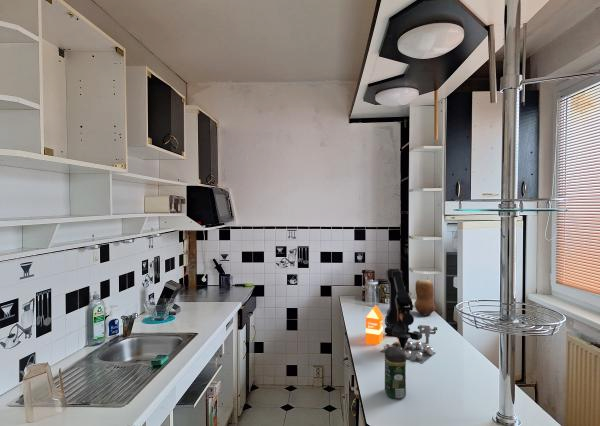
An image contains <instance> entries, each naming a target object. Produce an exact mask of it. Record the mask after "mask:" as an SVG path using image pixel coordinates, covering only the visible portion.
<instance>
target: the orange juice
mask: <svg viewBox="0 0 600 426" xmlns="http://www.w3.org/2000/svg"><path fill="white" fill-rule="evenodd" d="M383 315H384V314H382V311H380V309H379V307H378V306H377V305H375V306H374V307H373V308H371V310H370V311H369V312H368V314H367V316H365V344H366V343H367V345H372V344H374V346H377V345H380V344H381V342H382V341H383V338H384V333H383V331H384V329H383V328H384V323H383V322H384V317H383Z"/></svg>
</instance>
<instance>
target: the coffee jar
mask: <svg viewBox="0 0 600 426" xmlns="http://www.w3.org/2000/svg"><path fill="white" fill-rule="evenodd" d="M406 365H407V360H406V355H405V353H404V352H403V351H402V350H401V349H400V348H398V347H388V348H386V349H385V353H384V391H385V394H386V395H387V397H389V398H391V399H395V400H396V399H397V400H401V399H404V398H406V396H407V387H406V386H407V385H406V379H407V377H406V376H407V375H406V370H407V368H406Z"/></svg>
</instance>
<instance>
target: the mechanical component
mask: <svg viewBox="0 0 600 426" xmlns="http://www.w3.org/2000/svg"><path fill="white" fill-rule="evenodd" d="M417 330H418V332H421V333H422V335H423V334H424V337H425V345H428V344H430V343H429V341H430V338H429V337H430V336H431V335H436V332H437V331H438V327H436V326H433V328H431V326H430V325H425V324H424V325H420V324H419V325H417Z"/></svg>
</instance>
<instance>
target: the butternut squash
mask: <svg viewBox="0 0 600 426" xmlns="http://www.w3.org/2000/svg"><path fill="white" fill-rule="evenodd" d="M434 293H435V292H434V284H433V282H432V280H430V279H418V280H416V281H415V295H416V300H415V303H414V308H415V310H416V312H417V313H419V314H420V315H421V316H425V317H429V316H430V315H431V314H432V313H434V311H435V310H436V303H435V299H434Z"/></svg>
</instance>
